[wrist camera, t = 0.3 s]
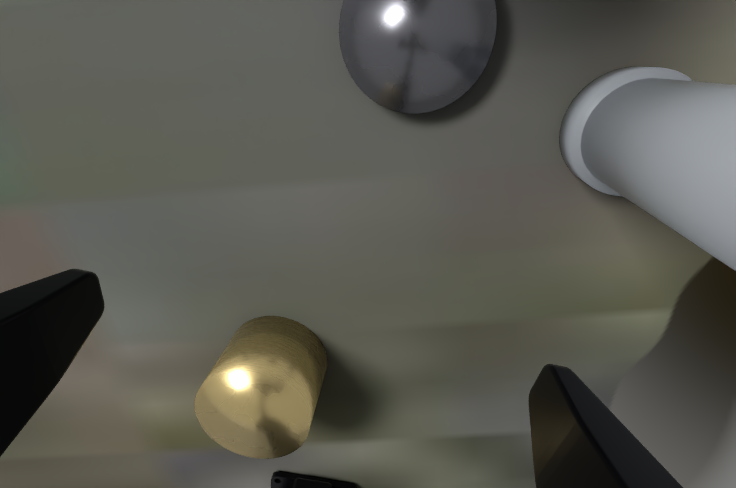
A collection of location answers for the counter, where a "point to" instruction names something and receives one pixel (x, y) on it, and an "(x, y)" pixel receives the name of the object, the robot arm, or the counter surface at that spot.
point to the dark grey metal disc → (416, 49)
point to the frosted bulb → (660, 150)
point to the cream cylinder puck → (263, 388)
